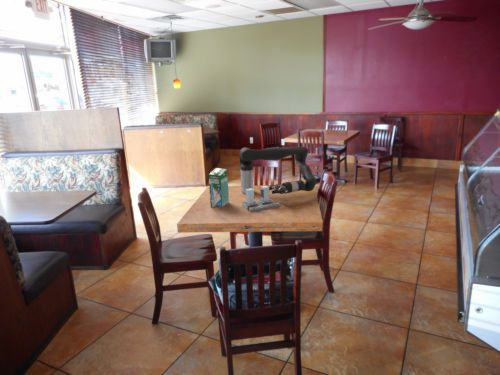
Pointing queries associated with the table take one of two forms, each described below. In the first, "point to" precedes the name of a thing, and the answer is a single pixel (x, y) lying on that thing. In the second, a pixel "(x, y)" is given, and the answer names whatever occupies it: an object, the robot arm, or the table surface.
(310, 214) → the table surface
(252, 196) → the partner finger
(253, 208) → the rail board
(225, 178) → the milk carton
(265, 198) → the loose finger
